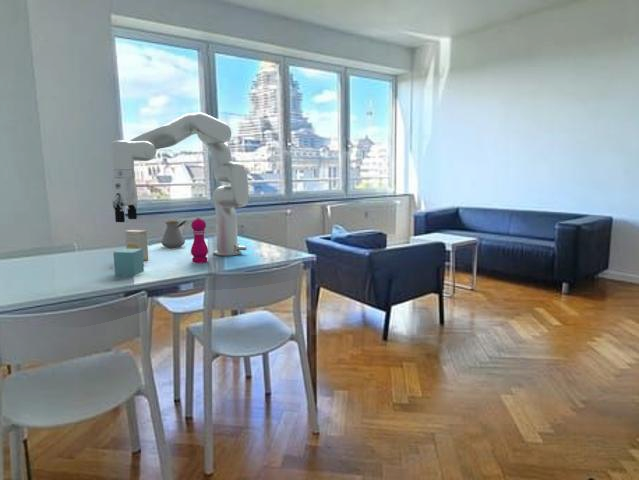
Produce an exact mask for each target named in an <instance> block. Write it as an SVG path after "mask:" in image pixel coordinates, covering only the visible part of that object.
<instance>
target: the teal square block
mask: <svg viewBox="0 0 639 480" xmlns="http://www.w3.org/2000/svg"><path fill="white" fill-rule="evenodd" d="M113 262H114V263H113V265H114V266H113V267H114V276H137V275H139V274H141V273H143V272H144V271H145V269H144V268H145V266H144V261H143V249H126V248H122V249H119V250H118V249H117V250H116V251H113Z"/></svg>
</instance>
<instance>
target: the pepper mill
mask: <svg viewBox="0 0 639 480" xmlns="http://www.w3.org/2000/svg"><path fill="white" fill-rule="evenodd" d="M191 228H192V234H193V244H192V246H191V249H190V254H191V256H192V263H194V264H204V263H207V262H208V257H207V256H208V254H209V248H208V246H207V244H206V241H205V234H206V230H205V229H206V228H207V224H206V221H205V220H204V219H201V216H200V215H197V216H195V219H194V220H193V221H192V222H191Z"/></svg>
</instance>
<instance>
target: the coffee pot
mask: <svg viewBox="0 0 639 480" xmlns="http://www.w3.org/2000/svg"><path fill="white" fill-rule="evenodd" d="M165 225H166V228H165V231H164V234H163V236H162V238H161V245H162V246H163V247H165V249H179V248H182V246H184V245H185V243H186V239H185V238H184V236H183V234H182V231H181V230H180V227H181V226H183V225H188V223H187V220H183V221H182V222H180V221H176V220H175V221H172V220H171V221H170V220H169V221H166V222H165Z"/></svg>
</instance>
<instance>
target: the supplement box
mask: <svg viewBox="0 0 639 480" xmlns="http://www.w3.org/2000/svg"><path fill="white" fill-rule="evenodd" d="M124 234H125V249H143V262H145V261H148V260H149V251H148V250H149V249H148V235H147V234H148V233H147V230H146V229H145V230H143V229H128V230H125V231H124Z"/></svg>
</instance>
